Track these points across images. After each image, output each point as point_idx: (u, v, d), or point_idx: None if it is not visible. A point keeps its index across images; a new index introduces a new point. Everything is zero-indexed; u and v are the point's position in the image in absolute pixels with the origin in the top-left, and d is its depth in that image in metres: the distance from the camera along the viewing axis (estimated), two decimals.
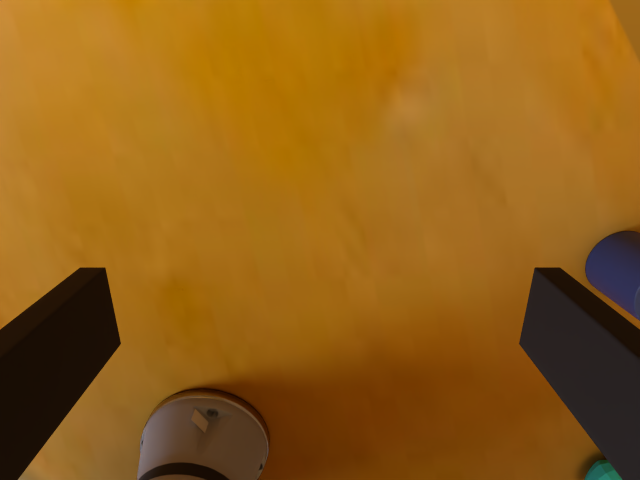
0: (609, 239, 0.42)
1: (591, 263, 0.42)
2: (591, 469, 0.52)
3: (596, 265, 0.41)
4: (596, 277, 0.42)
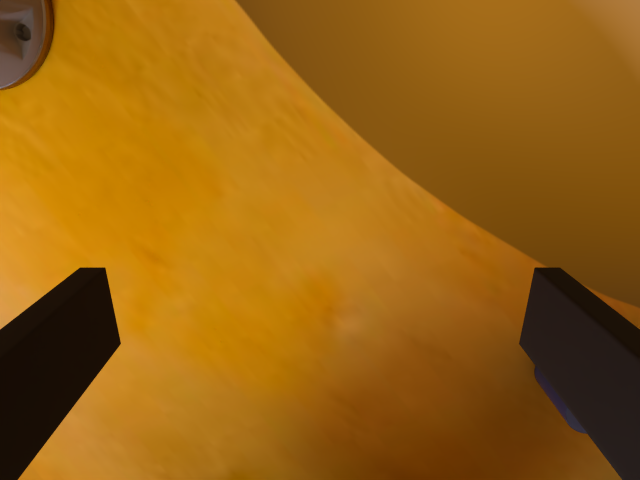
0: None
1: (537, 378, 0.52)
2: None
3: (540, 382, 0.51)
4: (544, 390, 0.51)
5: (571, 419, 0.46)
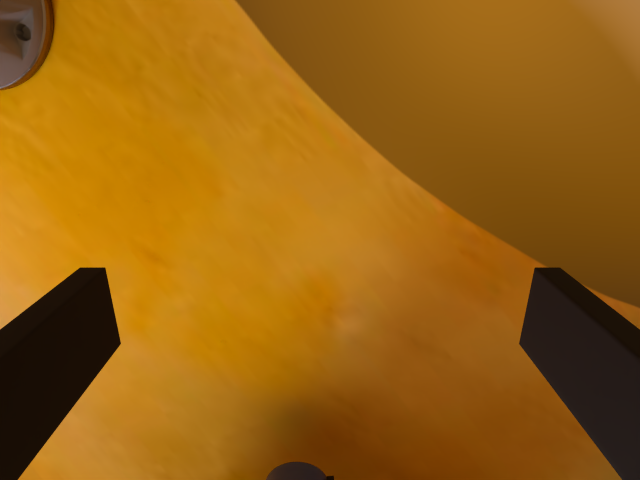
0: None
1: None
2: None
3: None
4: None
5: None
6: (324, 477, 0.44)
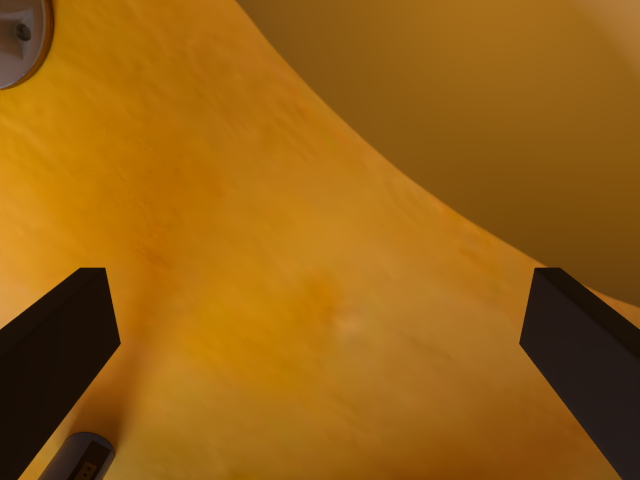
0: None
1: None
2: None
3: None
4: None
5: None
6: (89, 436, 0.56)
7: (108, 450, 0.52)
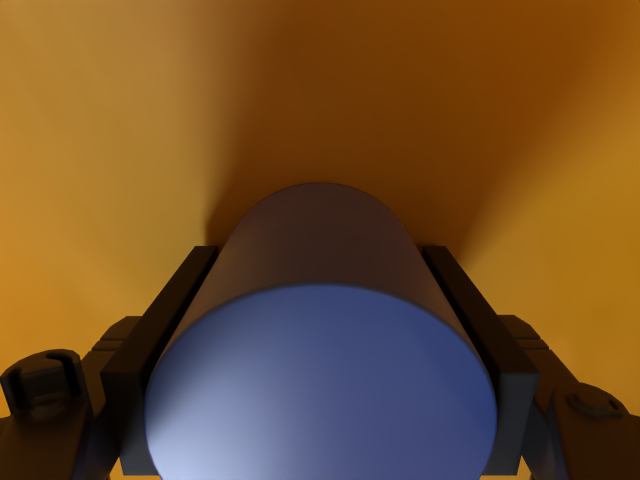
0: None
1: None
2: None
3: None
4: None
5: None
6: (351, 190, 0.13)
7: None
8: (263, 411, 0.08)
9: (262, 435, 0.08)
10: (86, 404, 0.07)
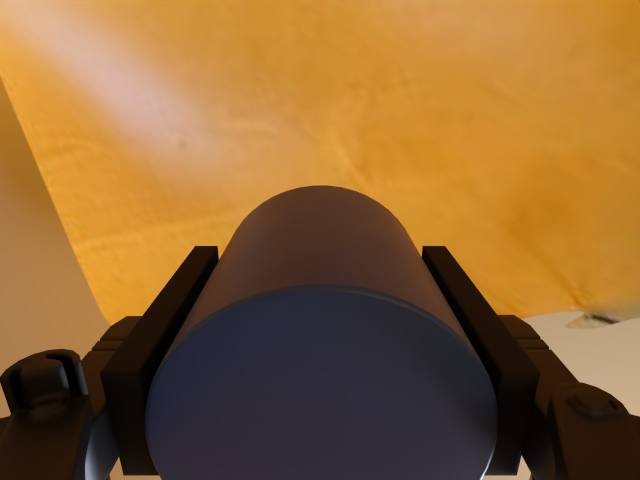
0: None
1: None
2: None
3: None
4: None
5: None
6: (352, 193, 0.13)
7: None
8: (264, 415, 0.08)
9: (263, 439, 0.08)
10: (86, 404, 0.07)
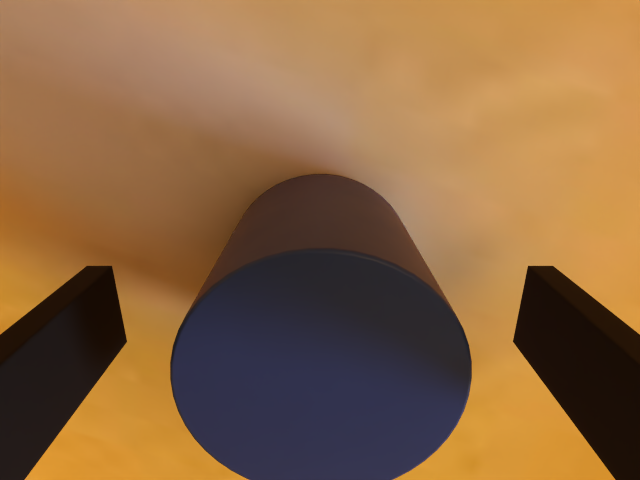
0: None
1: None
2: None
3: None
4: None
5: (376, 471, 0.10)
6: (348, 181, 0.15)
7: None
8: (273, 363, 0.09)
9: (272, 384, 0.09)
10: None
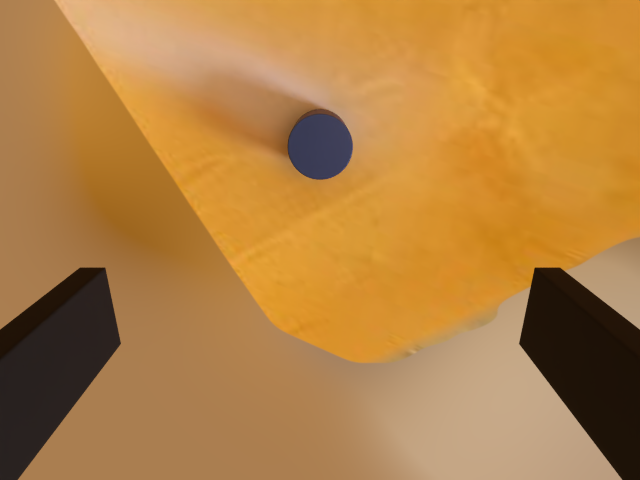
0: None
1: None
2: None
3: None
4: None
5: (333, 171, 0.45)
6: None
7: None
8: (310, 140, 0.44)
9: (309, 146, 0.44)
10: None
